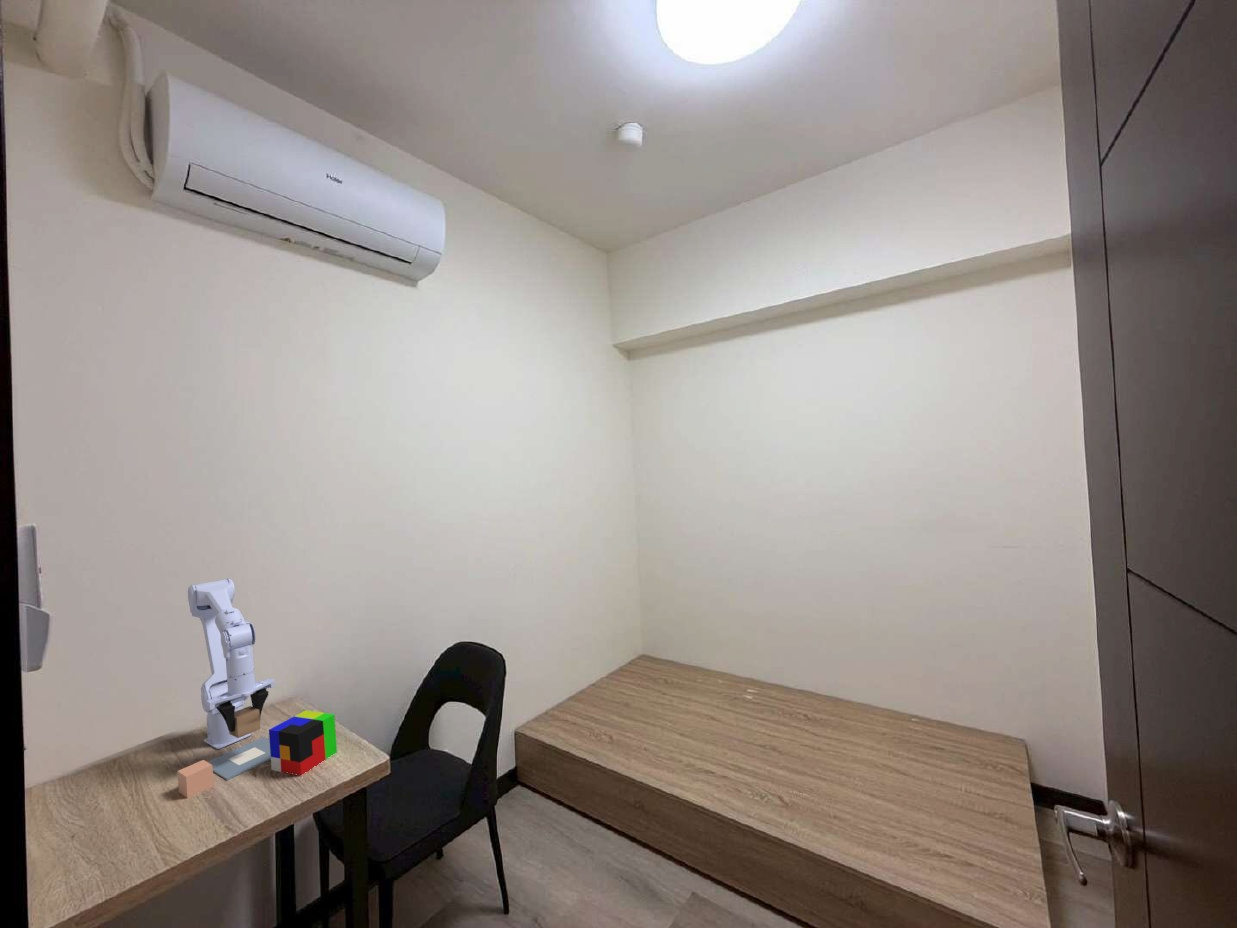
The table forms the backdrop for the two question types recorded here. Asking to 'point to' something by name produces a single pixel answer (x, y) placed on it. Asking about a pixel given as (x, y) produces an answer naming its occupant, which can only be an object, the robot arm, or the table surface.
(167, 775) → the table surface
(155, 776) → the table surface
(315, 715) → the puzzle toy
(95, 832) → the table surface
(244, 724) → the walnut block
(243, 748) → the plate
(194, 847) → the table surface
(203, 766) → the terracotta block
